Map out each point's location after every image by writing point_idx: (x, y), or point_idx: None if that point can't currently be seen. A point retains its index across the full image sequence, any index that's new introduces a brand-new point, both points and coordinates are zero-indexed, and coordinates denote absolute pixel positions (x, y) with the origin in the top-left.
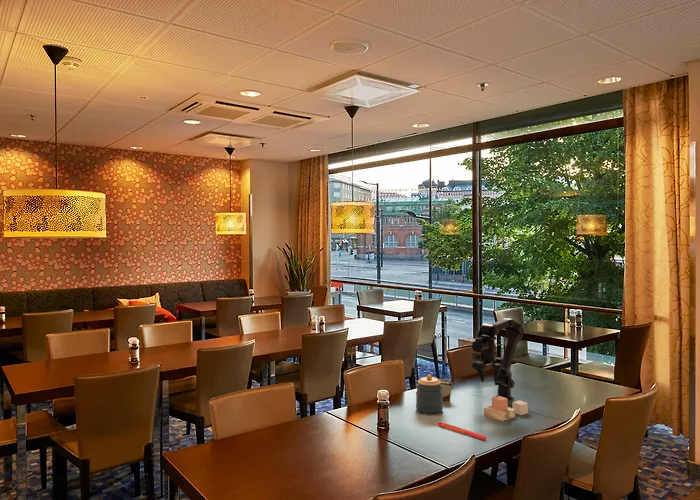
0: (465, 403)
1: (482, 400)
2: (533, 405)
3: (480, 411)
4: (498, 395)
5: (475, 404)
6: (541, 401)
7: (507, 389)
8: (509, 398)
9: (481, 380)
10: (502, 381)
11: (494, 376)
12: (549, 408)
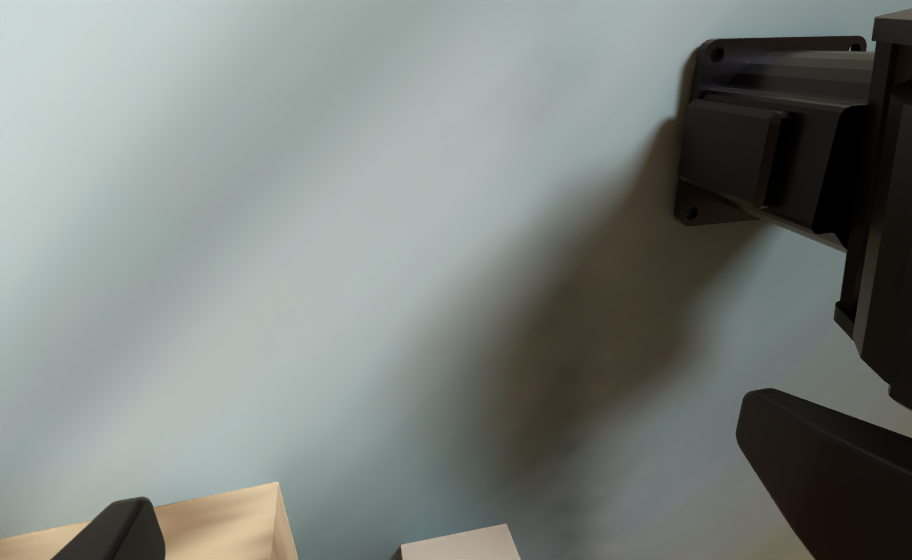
0: (4, 5)
1: (415, 49)
2: (730, 462)
3: (44, 419)
4: (699, 124)
5: (165, 150)
6: (882, 406)
7: (835, 248)
8: (750, 219)
9: (92, 541)
10: (880, 325)
11: (791, 445)
12: (749, 554)
